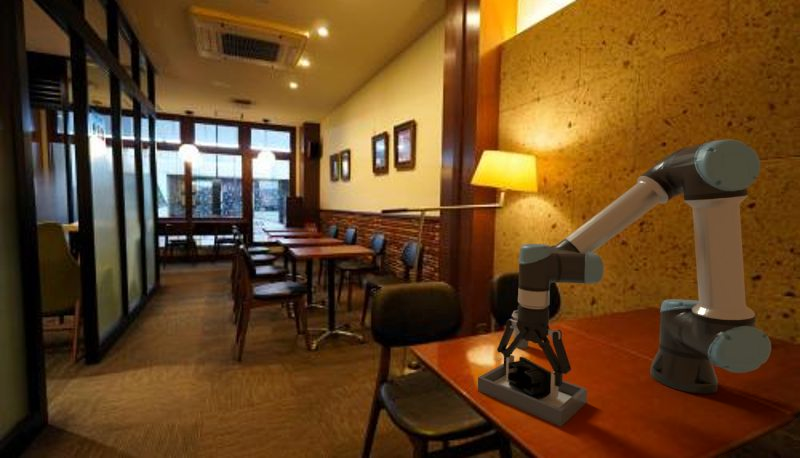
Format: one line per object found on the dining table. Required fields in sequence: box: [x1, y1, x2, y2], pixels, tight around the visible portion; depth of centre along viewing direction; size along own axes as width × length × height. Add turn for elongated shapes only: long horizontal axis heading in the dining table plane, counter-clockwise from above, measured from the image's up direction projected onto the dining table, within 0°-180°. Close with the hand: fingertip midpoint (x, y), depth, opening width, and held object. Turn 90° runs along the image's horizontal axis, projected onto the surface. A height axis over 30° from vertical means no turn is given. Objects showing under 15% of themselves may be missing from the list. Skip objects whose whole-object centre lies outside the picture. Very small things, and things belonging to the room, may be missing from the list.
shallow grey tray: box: [477, 363, 588, 428], centre depth 95 cm, size 22×15×4 cm
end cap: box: [508, 356, 553, 399], centre depth 95 cm, size 10×7×7 cm
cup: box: [511, 309, 529, 350], centre depth 130 cm, size 7×7×12 cm
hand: (531, 388), depth 95 cm, fingers closed on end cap, 11 cm apart
